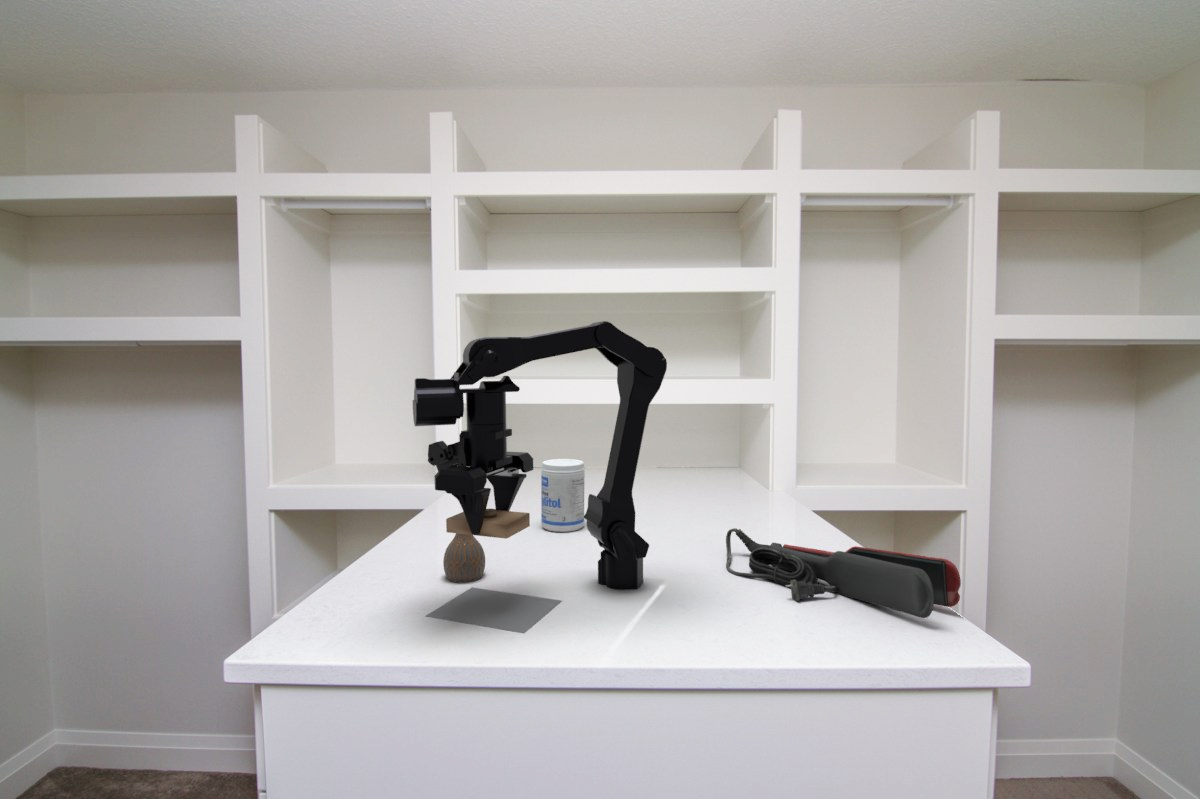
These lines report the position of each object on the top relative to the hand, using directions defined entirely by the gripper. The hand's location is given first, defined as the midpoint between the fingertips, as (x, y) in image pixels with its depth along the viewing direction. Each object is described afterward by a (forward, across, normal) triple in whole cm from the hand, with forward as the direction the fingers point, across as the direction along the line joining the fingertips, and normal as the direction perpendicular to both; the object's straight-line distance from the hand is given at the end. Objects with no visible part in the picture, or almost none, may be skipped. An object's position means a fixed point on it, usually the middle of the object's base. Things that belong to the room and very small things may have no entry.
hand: (488, 527), depth 94 cm
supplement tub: (+13, -46, -8) cm, 48 cm away
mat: (+12, +1, +2) cm, 13 cm away
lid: (0, 0, 0) cm, 0 cm away
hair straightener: (+13, -27, +47) cm, 56 cm away
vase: (+13, -9, -10) cm, 19 cm away
